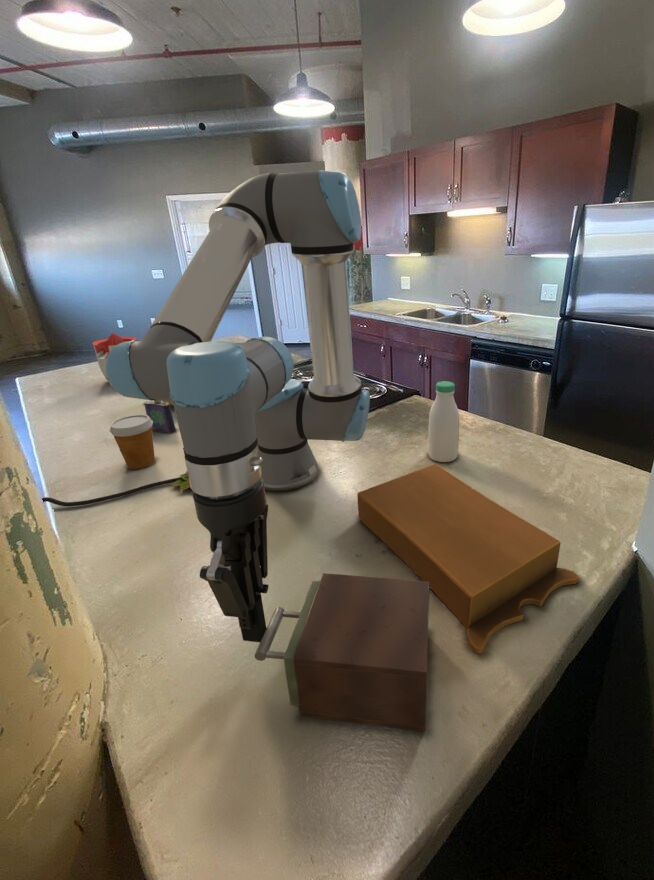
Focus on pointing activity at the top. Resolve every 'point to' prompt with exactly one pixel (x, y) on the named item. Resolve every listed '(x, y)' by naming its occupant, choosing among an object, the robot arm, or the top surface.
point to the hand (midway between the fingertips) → (255, 636)
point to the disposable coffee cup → (134, 440)
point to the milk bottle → (443, 424)
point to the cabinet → (365, 652)
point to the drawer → (291, 649)
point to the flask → (160, 416)
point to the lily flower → (182, 482)
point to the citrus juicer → (107, 349)
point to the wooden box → (465, 548)
